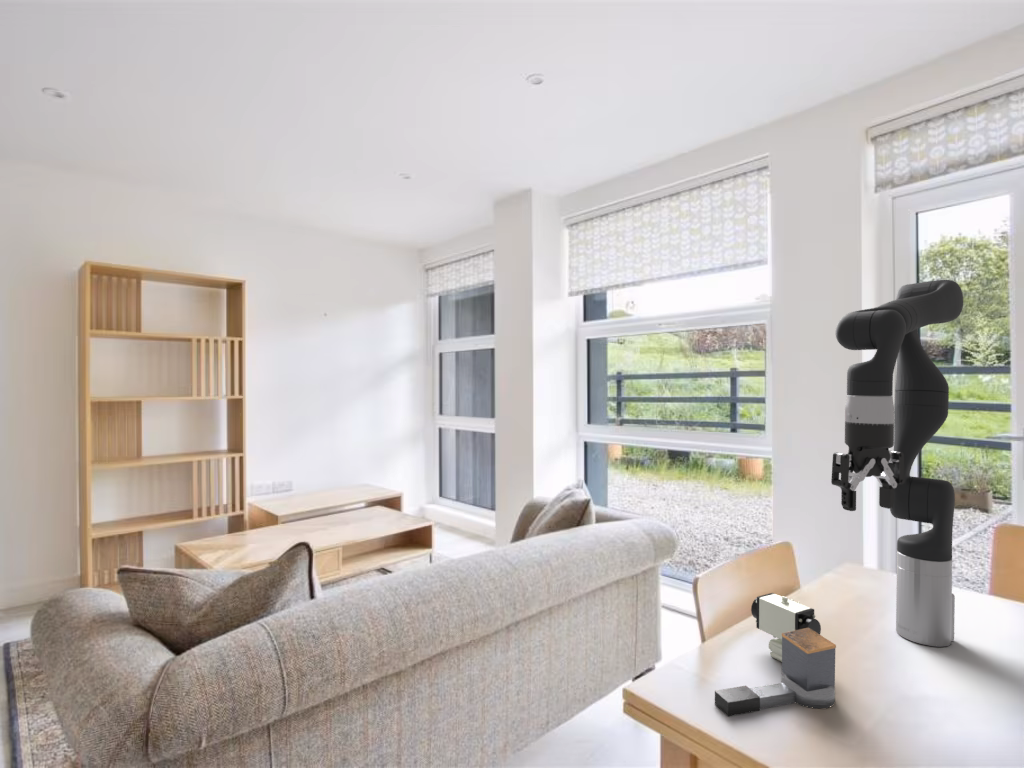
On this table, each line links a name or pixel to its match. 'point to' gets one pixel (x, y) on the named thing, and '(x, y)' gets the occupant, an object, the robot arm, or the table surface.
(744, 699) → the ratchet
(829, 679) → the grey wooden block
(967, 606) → the table surface
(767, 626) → the pneumatic valve
